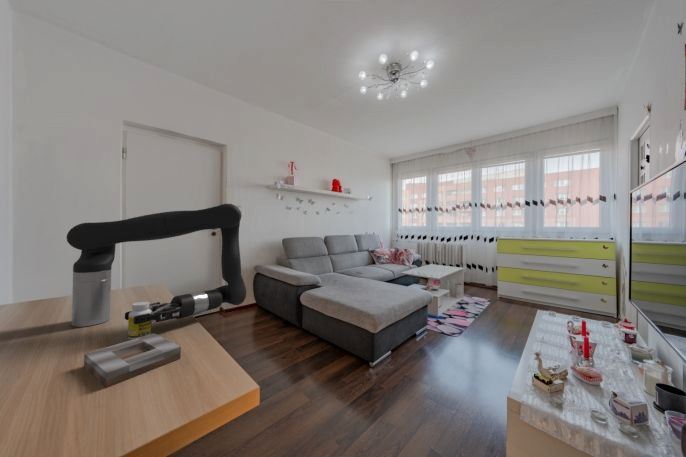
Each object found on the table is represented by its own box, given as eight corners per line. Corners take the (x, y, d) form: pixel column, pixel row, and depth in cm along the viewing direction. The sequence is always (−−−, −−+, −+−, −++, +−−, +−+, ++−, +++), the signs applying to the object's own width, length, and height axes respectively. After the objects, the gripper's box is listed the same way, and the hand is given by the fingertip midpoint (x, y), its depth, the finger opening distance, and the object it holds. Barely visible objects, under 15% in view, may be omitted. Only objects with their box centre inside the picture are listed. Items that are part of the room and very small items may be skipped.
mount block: (84, 366, 59) (84, 353, 59) (154, 344, 71) (154, 333, 71) (106, 387, 52) (106, 372, 52) (180, 358, 64) (180, 346, 64)
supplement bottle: (138, 341, 72) (139, 306, 72) (122, 339, 73) (123, 305, 73) (155, 333, 78) (156, 301, 78) (141, 331, 79) (141, 300, 79)
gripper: (179, 290, 92) (119, 301, 77) (202, 296, 84) (140, 310, 70) (179, 311, 91) (119, 326, 77) (201, 319, 84) (140, 337, 70)
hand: (129, 318), depth 73 cm, fingers closed on supplement bottle, 5 cm apart
